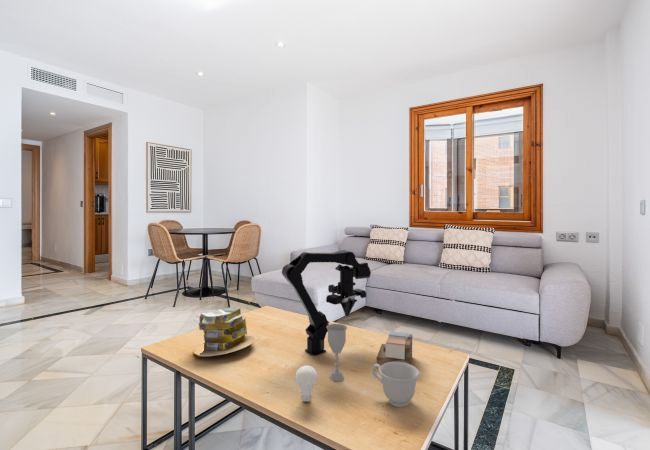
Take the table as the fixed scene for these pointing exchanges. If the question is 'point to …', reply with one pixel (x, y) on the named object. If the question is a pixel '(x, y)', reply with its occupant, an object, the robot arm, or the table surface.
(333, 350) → the chalice
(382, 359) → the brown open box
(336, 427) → the table surface
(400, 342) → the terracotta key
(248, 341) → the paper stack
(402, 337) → the slate key
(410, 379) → the teacup
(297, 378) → the light bulb
